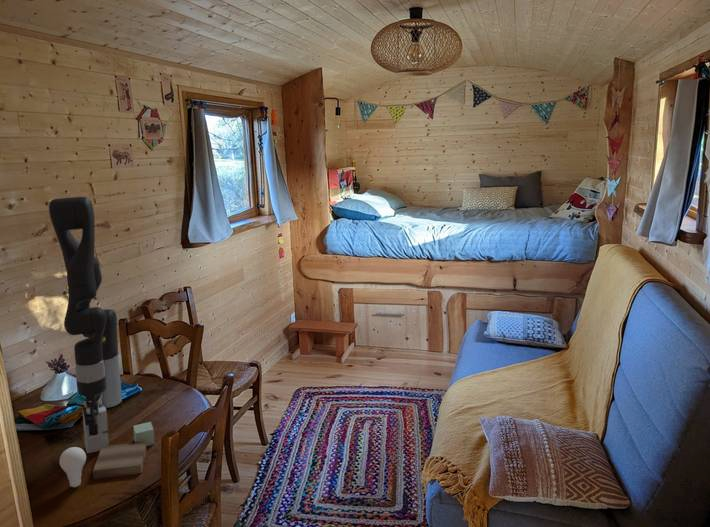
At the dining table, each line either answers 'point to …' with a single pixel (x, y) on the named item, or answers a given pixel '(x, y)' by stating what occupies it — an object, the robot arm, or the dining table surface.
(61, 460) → the lightbulb
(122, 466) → the beige flat slab
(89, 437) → the skincare box
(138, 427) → the sage block
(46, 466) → the dining table surface
